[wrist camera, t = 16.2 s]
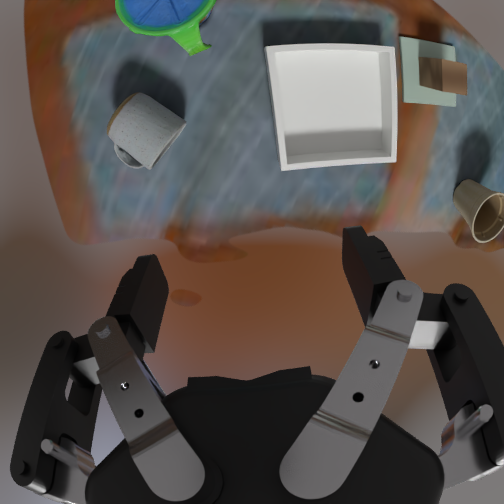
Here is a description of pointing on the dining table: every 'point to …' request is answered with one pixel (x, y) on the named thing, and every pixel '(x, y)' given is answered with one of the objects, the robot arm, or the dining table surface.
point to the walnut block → (443, 75)
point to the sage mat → (410, 71)
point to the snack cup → (167, 19)
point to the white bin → (333, 104)
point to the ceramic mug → (143, 130)
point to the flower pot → (480, 209)
